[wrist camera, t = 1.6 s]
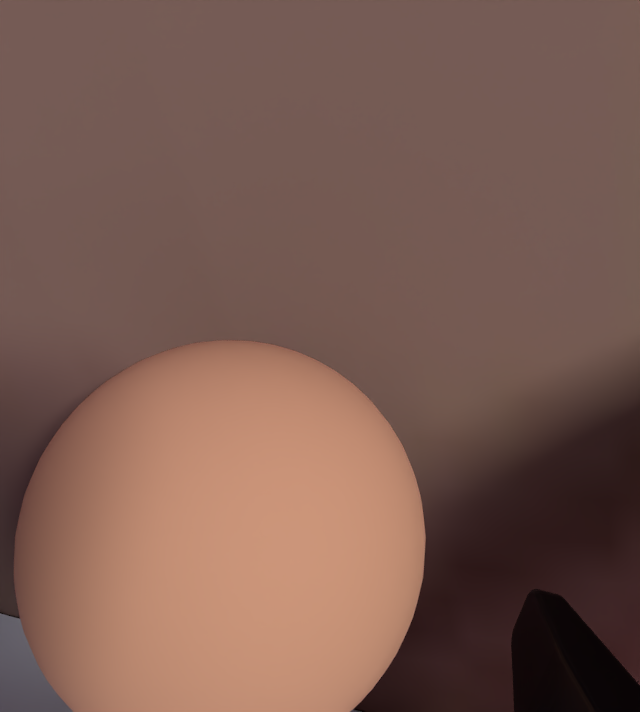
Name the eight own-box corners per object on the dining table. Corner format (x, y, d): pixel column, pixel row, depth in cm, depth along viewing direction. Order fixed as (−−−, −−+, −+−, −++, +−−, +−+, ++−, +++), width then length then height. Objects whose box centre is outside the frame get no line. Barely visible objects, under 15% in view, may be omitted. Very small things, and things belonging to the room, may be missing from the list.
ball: (458, 333, 10) (508, 565, 5) (385, 584, 13) (363, 935, 7) (143, 265, 11) (-143, 405, 5) (129, 518, 13) (-80, 801, 8)
